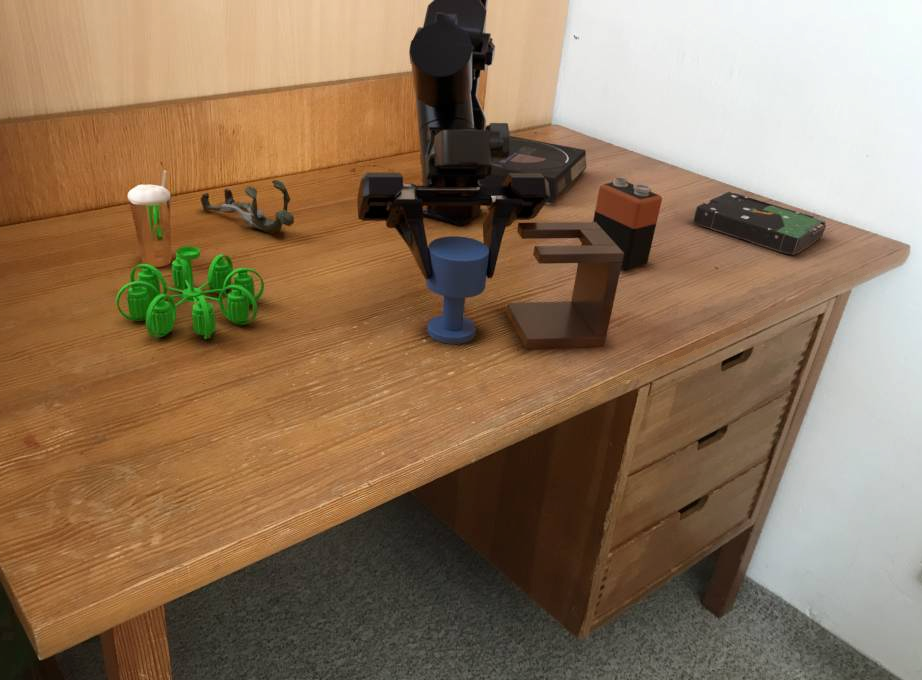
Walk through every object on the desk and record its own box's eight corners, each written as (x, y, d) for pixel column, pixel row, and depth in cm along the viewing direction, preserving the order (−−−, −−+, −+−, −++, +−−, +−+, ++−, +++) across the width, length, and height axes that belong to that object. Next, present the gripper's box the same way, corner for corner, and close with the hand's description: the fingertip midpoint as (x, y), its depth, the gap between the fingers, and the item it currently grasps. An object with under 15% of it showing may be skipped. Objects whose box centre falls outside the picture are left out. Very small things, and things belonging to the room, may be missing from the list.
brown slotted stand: (525, 349, 84) (540, 254, 78) (506, 312, 90) (517, 222, 85) (604, 346, 85) (624, 253, 80) (579, 310, 92) (596, 221, 86)
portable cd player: (554, 206, 119) (558, 179, 117) (447, 183, 125) (449, 157, 123) (585, 175, 132) (589, 150, 130) (486, 155, 138) (488, 131, 136)
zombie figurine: (229, 155, 109) (304, 187, 101) (231, 204, 113) (303, 239, 105) (195, 162, 106) (269, 196, 98) (198, 212, 109) (270, 249, 101)
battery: (624, 272, 101) (641, 194, 96) (585, 252, 106) (599, 176, 100) (648, 265, 103) (666, 188, 98) (609, 246, 108) (624, 171, 103)
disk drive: (691, 225, 116) (794, 257, 108) (695, 206, 115) (800, 237, 107) (723, 208, 123) (822, 237, 115) (727, 190, 122) (829, 218, 113)
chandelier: (110, 291, 89) (100, 231, 85) (246, 273, 95) (243, 216, 91) (130, 359, 78) (120, 293, 74) (284, 334, 84) (282, 272, 80)
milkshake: (190, 256, 98) (181, 174, 92) (160, 273, 94) (149, 188, 88) (159, 248, 99) (149, 167, 94) (128, 264, 95) (116, 180, 90)
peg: (411, 335, 85) (417, 250, 80) (440, 313, 89) (446, 231, 84) (463, 352, 83) (471, 266, 77) (489, 329, 87) (499, 245, 82)
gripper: (363, 86, 75) (374, 248, 72) (559, 91, 78) (577, 246, 75) (353, 146, 86) (362, 289, 82) (525, 148, 89) (540, 286, 86)
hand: (459, 277), depth 81 cm, fingers closed on peg, 6 cm apart
